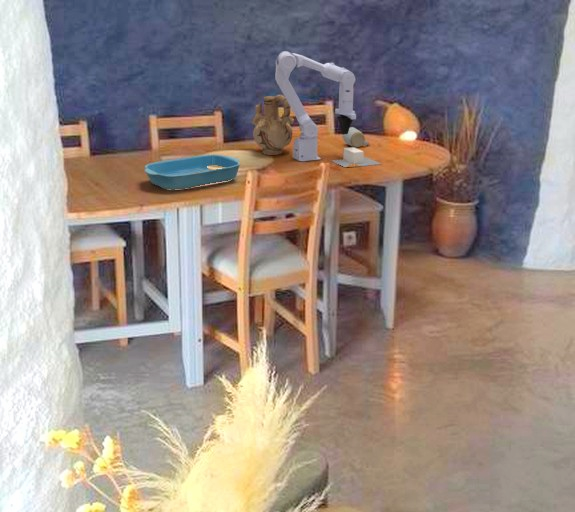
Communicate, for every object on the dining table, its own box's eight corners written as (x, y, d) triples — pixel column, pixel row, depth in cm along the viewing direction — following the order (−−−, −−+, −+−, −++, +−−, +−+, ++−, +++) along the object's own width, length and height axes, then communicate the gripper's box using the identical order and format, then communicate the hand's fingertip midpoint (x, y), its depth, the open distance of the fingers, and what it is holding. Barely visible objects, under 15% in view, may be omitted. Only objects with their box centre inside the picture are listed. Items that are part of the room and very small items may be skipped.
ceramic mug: (350, 148, 379) (351, 131, 376) (342, 144, 386) (342, 127, 384) (372, 147, 383) (373, 129, 380) (363, 143, 390) (364, 126, 387)
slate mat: (345, 168, 346) (345, 167, 346) (331, 161, 357) (331, 160, 357) (381, 164, 352) (381, 163, 352) (366, 157, 363) (366, 157, 363)
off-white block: (343, 158, 360) (353, 163, 352) (343, 148, 358) (353, 152, 350) (352, 157, 361) (363, 162, 354) (353, 147, 360) (363, 151, 352)
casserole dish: (162, 197, 307) (161, 177, 305) (134, 183, 324) (133, 164, 322) (251, 181, 327) (251, 163, 325) (220, 169, 344) (220, 151, 342)
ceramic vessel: (294, 148, 379) (294, 89, 371) (296, 158, 361) (296, 97, 353) (251, 148, 379) (250, 90, 370) (251, 159, 361) (250, 97, 352)
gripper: (363, 102, 351) (362, 136, 355) (346, 97, 363) (345, 129, 368) (347, 103, 348) (346, 138, 353) (331, 98, 361) (330, 131, 365)
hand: (344, 134), depth 360 cm, fingers closed
